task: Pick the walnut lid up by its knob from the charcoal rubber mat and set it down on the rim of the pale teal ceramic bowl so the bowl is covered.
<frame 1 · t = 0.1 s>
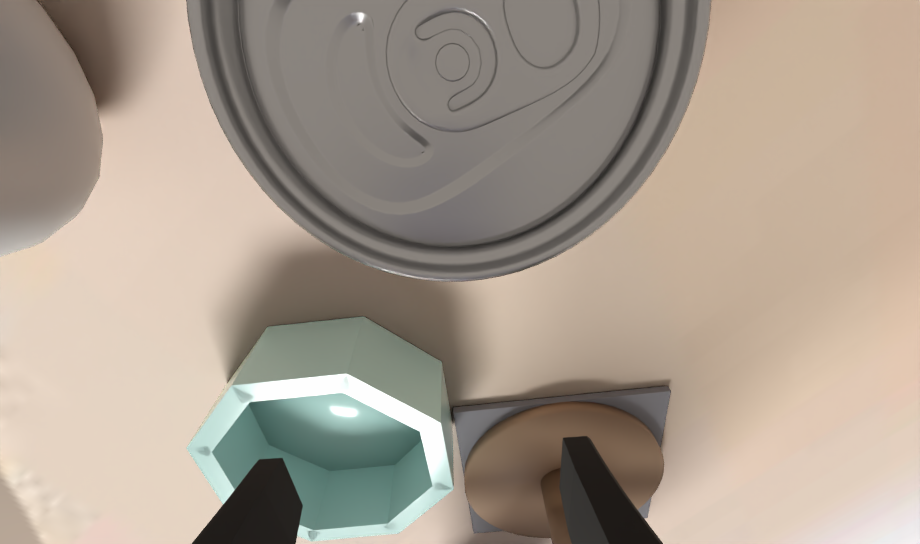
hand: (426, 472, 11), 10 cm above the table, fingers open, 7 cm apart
soda can: (448, 42, 15), on the table
mat: (559, 465, 27), on the table
lid: (560, 470, 26), resting on mat
donut: (57, 60, 15), on the table
bowl: (344, 405, 24), on the table
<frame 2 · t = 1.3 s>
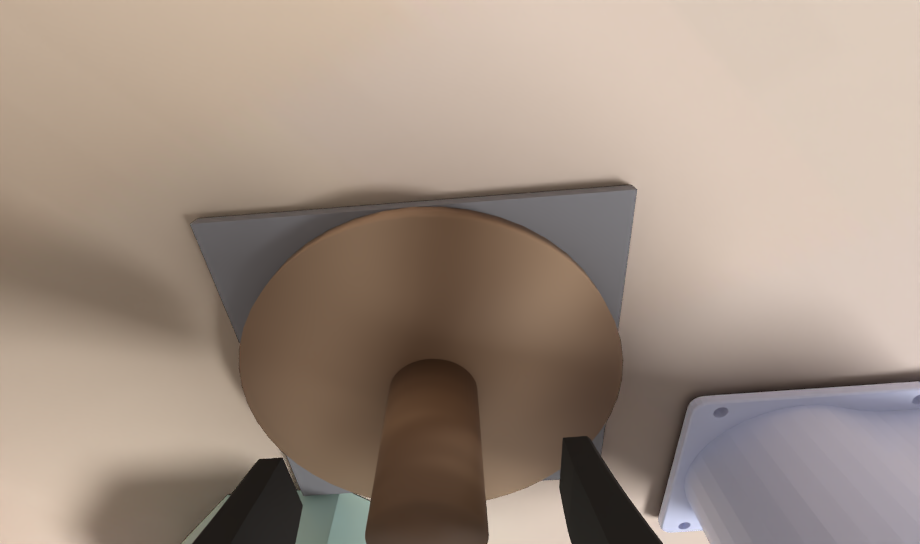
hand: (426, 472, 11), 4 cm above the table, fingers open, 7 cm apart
mat: (434, 367, 15), on the table
lid: (434, 375, 14), resting on mat
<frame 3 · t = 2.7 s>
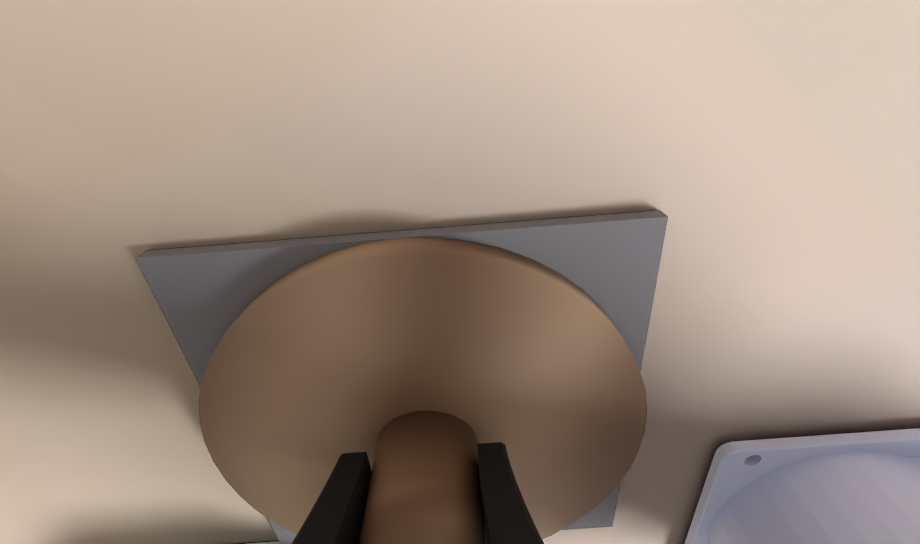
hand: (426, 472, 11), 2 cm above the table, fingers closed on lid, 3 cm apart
mat: (429, 412, 13), on the table
lid: (428, 423, 12), resting on mat, touching gripper
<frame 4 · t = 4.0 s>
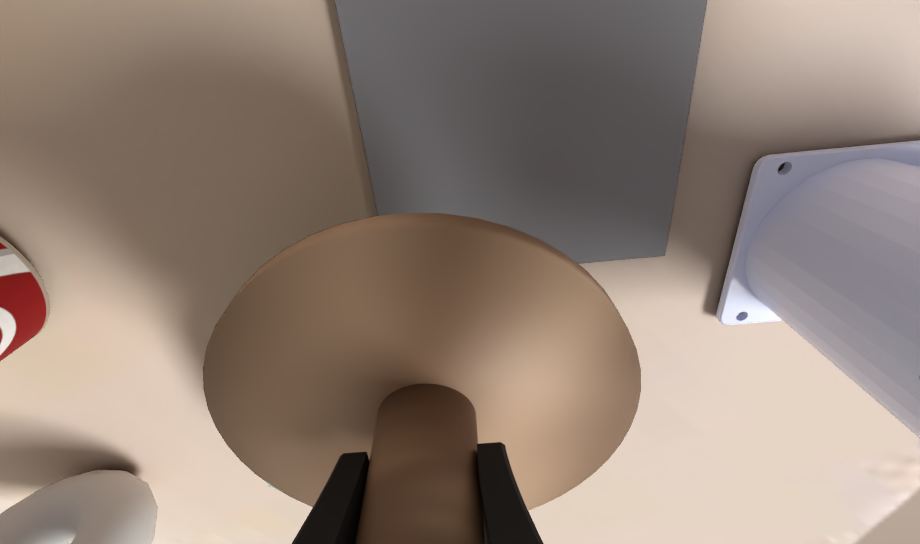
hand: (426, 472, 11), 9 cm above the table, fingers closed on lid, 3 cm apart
mat: (522, 124, 16), on the table
lid: (428, 396, 13), point 7 cm above the table, touching gripper
donut: (114, 472, 26), on the table
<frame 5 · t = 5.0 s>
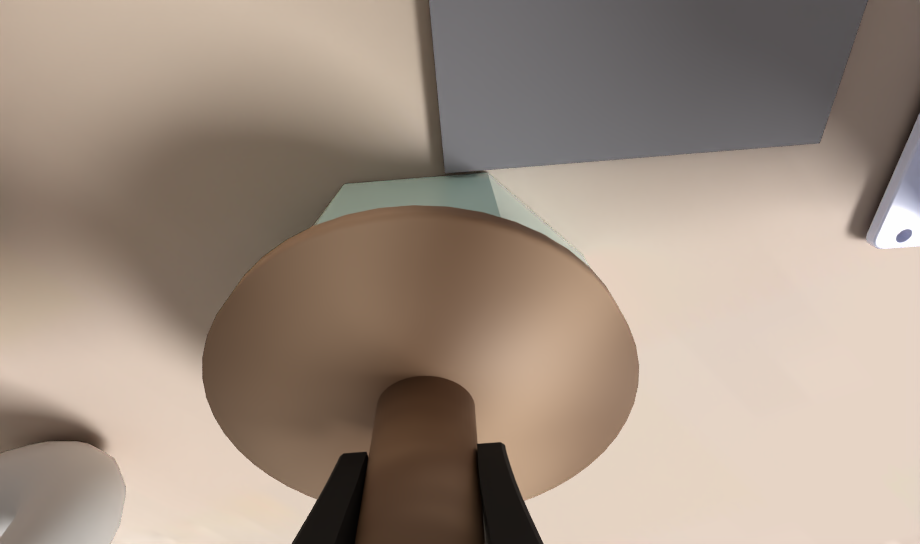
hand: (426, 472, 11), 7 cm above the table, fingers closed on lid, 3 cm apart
lid: (427, 388, 13), point 4 cm above the table, touching bowl, gripper
donut: (74, 446, 20), on the table
bowl: (433, 319, 17), on the table
when the fingers open (7 cm above the table, at t = 5.5 s): lid stays where it is, resting on bowl.
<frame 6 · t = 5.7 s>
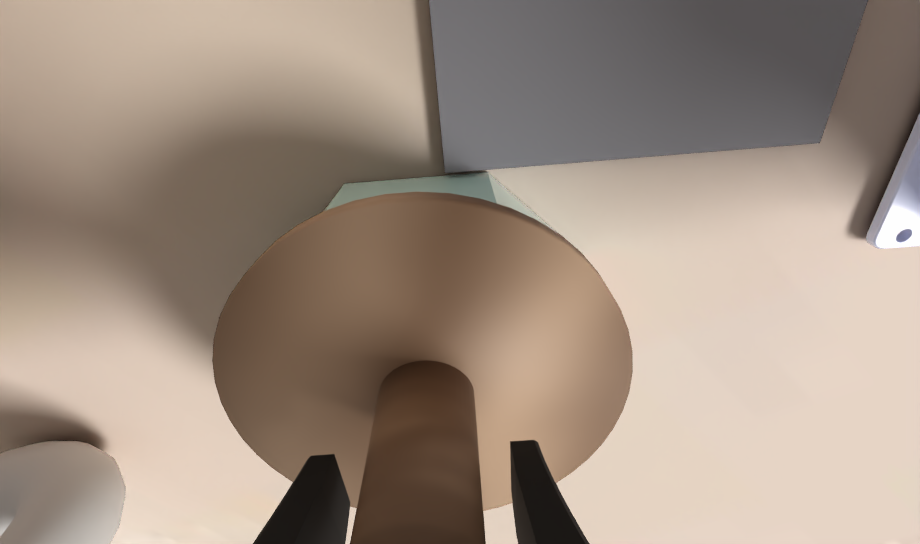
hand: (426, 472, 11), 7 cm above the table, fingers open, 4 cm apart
lid: (428, 377, 13), point 4 cm above the table, touching bowl
donut: (74, 446, 20), on the table
bowl: (433, 319, 17), on the table
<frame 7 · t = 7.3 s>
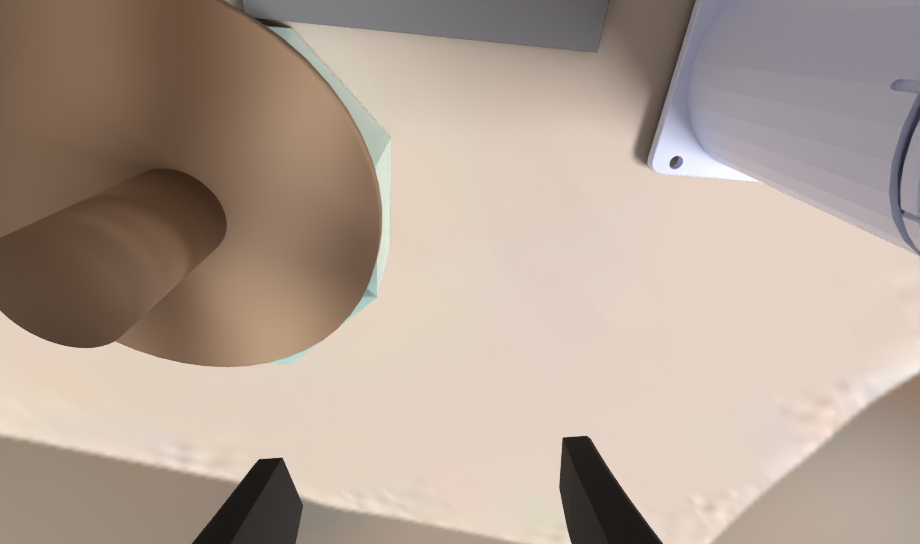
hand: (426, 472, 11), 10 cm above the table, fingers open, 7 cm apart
lid: (191, 205, 13), point 4 cm above the table, touching bowl
bowl: (247, 186, 17), on the table
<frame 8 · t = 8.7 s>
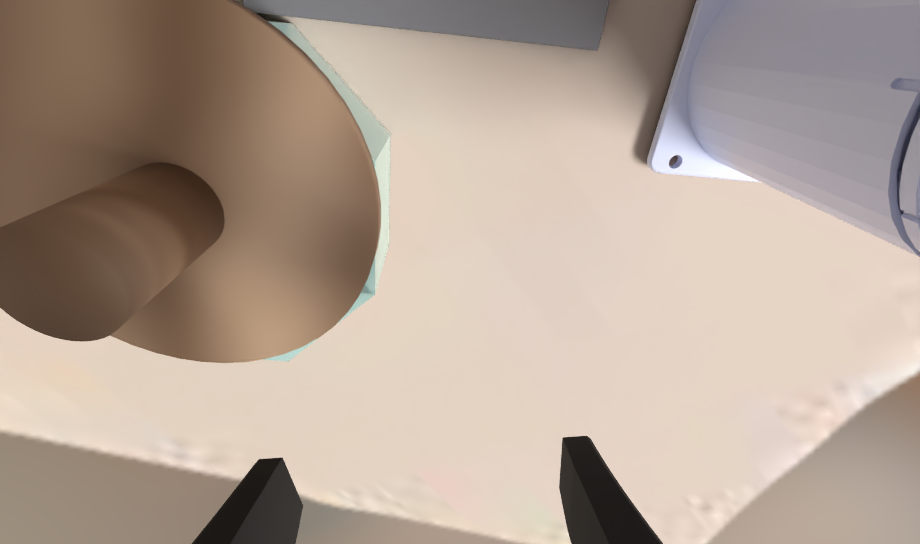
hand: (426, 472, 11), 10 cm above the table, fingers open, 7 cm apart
lid: (189, 200, 13), point 4 cm above the table, touching bowl
bowl: (245, 181, 17), on the table
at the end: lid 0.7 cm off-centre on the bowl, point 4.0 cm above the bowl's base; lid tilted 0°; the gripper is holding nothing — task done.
